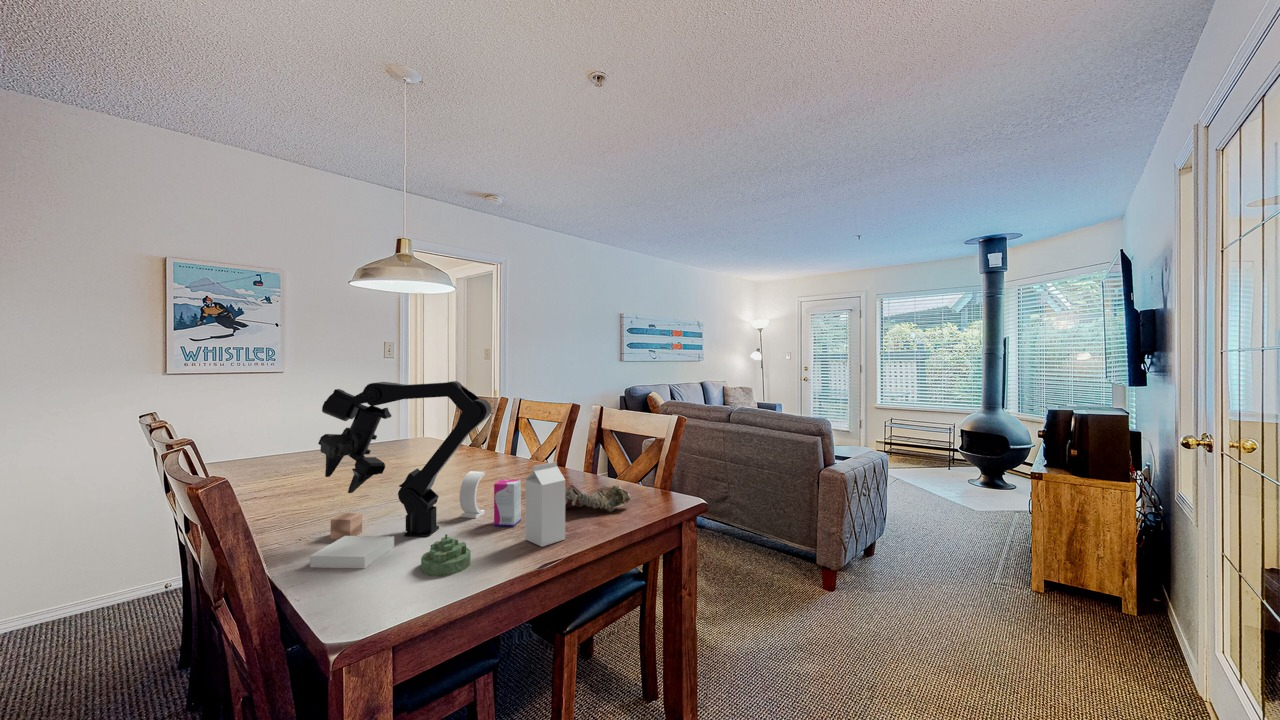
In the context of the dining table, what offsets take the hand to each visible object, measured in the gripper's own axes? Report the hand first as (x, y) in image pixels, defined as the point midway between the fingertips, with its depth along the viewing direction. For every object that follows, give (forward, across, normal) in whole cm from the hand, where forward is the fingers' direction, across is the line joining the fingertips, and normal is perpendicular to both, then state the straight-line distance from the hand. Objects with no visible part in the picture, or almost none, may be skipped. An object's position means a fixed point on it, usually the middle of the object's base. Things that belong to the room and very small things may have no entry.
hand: (338, 484), depth 126 cm
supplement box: (-4, +36, +25) cm, 44 cm away
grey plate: (+8, +20, -6) cm, 22 cm away
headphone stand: (0, +23, +27) cm, 35 cm away
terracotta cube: (+11, +7, +3) cm, 13 cm away
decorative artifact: (-1, +41, -3) cm, 42 cm away
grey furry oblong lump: (-13, +49, +45) cm, 68 cm away
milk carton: (-9, +51, +18) cm, 55 cm away
